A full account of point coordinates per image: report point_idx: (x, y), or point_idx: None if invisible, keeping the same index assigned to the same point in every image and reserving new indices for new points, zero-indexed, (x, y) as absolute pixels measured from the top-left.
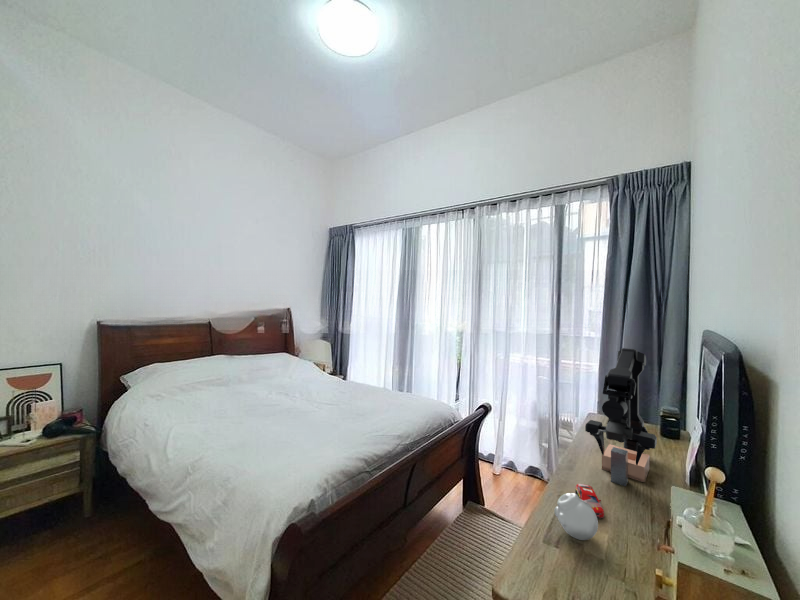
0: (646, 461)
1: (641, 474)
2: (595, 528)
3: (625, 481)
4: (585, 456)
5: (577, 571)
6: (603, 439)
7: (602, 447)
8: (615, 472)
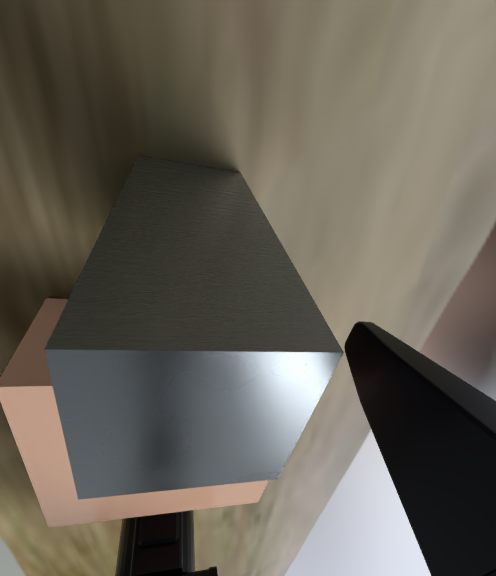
0: (27, 466)
1: (48, 333)
2: None
3: (134, 166)
4: (346, 381)
5: None
6: (440, 554)
7: (437, 390)
8: (218, 196)
